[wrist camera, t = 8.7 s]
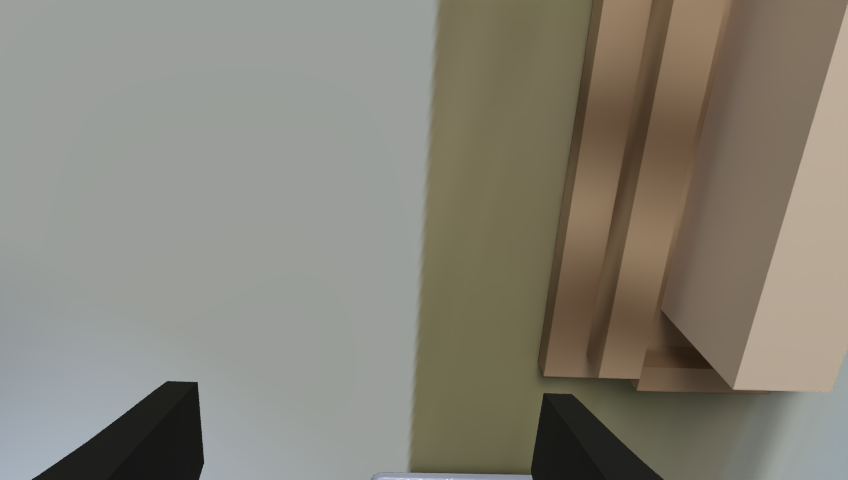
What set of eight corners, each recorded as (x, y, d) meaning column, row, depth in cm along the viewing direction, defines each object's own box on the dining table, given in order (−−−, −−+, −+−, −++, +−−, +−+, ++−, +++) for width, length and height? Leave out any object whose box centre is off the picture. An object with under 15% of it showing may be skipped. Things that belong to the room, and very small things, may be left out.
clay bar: (738, 312, 22) (831, 392, 17) (660, 309, 22) (733, 389, 17) (839, -42, 18) (998, -63, 13) (743, -49, 17) (870, -73, 13)
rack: (799, 370, 24) (842, 407, 22) (537, 362, 23) (553, 400, 21) (971, -135, 18) (1058, -159, 15) (619, -167, 17) (654, -197, 15)
